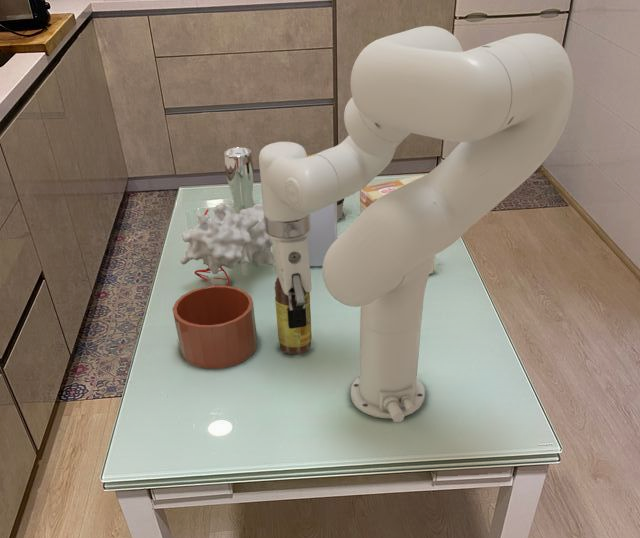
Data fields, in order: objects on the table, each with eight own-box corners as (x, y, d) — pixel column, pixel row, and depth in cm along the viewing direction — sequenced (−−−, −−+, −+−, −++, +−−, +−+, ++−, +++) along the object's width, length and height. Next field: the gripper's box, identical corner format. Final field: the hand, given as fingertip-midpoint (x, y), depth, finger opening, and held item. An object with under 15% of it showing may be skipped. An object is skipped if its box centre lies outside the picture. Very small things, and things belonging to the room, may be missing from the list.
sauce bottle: (308, 357, 124) (302, 259, 111) (275, 354, 125) (266, 257, 112) (315, 337, 129) (311, 241, 115) (283, 335, 130) (276, 239, 116)
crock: (263, 361, 123) (258, 319, 117) (184, 374, 121) (176, 332, 115) (250, 320, 134) (246, 280, 128) (178, 332, 132) (170, 291, 126)
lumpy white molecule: (199, 296, 156) (169, 286, 132) (194, 214, 154) (162, 189, 129) (284, 291, 155) (269, 281, 130) (280, 209, 153) (264, 183, 128)
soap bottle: (307, 248, 157) (303, 148, 142) (337, 248, 156) (336, 148, 141) (303, 267, 150) (298, 163, 135) (334, 267, 149) (332, 163, 134)
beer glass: (262, 208, 174) (257, 149, 165) (246, 218, 170) (240, 158, 160) (241, 203, 177) (234, 145, 168) (225, 213, 173) (217, 154, 163)
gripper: (321, 242, 105) (324, 338, 117) (298, 200, 118) (303, 290, 129) (274, 249, 104) (282, 345, 116) (256, 205, 116) (265, 296, 128)
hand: (293, 315), depth 122 cm, fingers closed on sauce bottle, 6 cm apart
